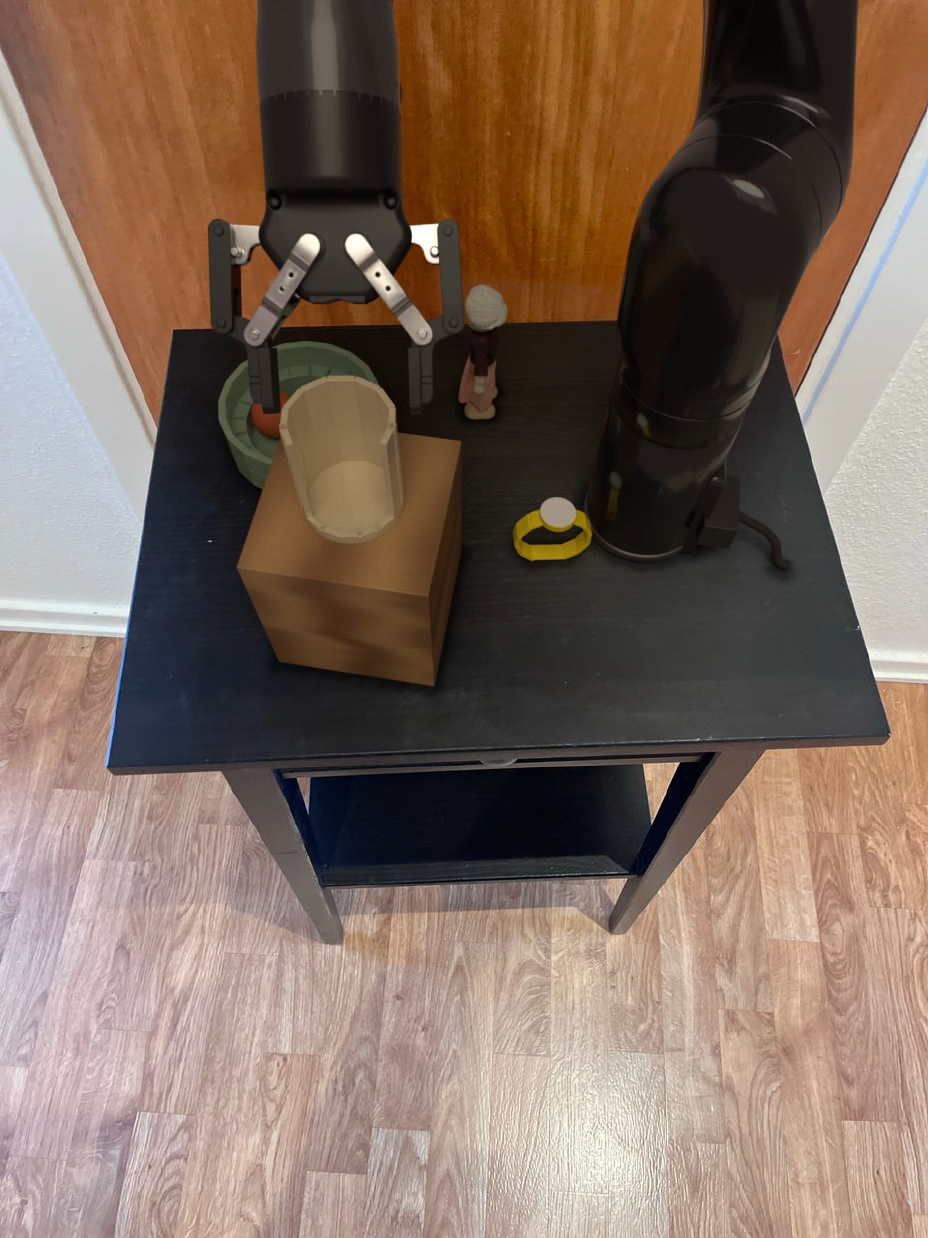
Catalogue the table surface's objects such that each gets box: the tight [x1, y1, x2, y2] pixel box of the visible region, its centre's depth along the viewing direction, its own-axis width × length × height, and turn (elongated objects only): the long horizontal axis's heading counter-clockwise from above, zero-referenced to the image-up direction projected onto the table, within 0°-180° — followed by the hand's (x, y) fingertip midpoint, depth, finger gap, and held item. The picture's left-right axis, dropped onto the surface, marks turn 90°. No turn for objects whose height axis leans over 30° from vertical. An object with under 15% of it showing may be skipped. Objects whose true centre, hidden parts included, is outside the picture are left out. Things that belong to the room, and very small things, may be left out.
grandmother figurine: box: [457, 284, 509, 420], centre depth 71 cm, size 8×4×13 cm, turn 2°
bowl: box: [217, 340, 380, 490], centre depth 73 cm, size 13×13×5 cm
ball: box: [251, 391, 291, 439], centre depth 73 cm, size 4×4×4 cm
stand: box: [236, 432, 463, 687], centre depth 61 cm, size 12×12×14 cm
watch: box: [512, 496, 593, 562], centre depth 67 cm, size 6×3×6 cm, turn 95°
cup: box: [279, 376, 404, 544], centre depth 51 cm, size 6×6×8 cm
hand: (344, 413), depth 51 cm, fingers open, 8 cm apart
